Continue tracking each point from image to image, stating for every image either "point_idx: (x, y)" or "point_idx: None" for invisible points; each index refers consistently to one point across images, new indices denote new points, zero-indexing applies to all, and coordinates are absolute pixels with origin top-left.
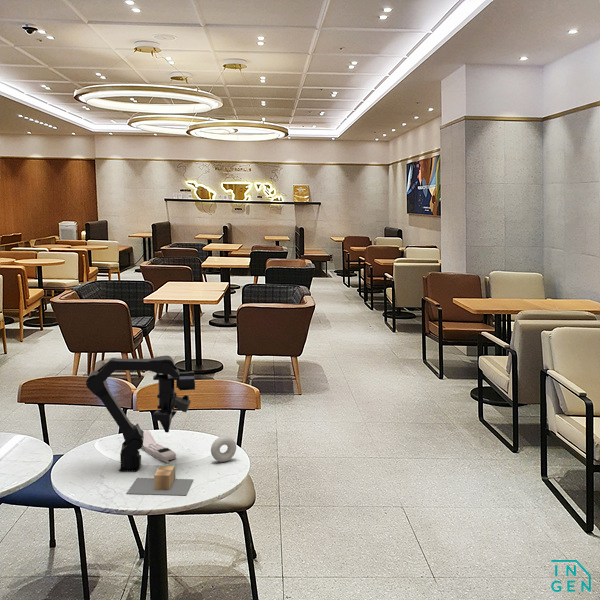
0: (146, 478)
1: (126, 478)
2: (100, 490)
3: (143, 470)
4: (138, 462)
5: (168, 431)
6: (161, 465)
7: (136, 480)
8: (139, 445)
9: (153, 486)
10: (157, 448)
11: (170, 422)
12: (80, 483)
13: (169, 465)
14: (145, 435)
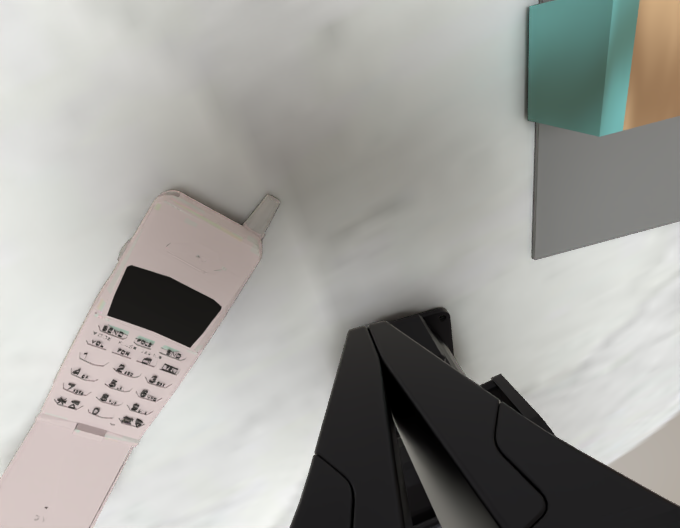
0: (543, 206)
1: (531, 305)
2: (662, 331)
3: (415, 284)
4: (433, 337)
5: (389, 325)
6: (629, 119)
7: (571, 243)
8: (539, 416)
9: None
10: (135, 367)
11: (383, 452)
12: (586, 426)
13: (636, 42)
14: (26, 523)
